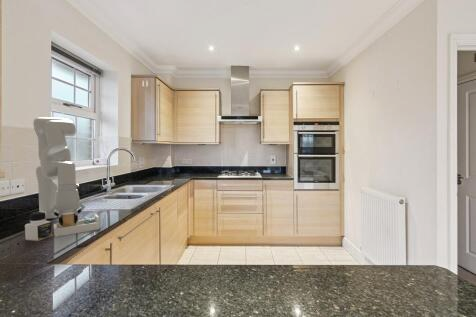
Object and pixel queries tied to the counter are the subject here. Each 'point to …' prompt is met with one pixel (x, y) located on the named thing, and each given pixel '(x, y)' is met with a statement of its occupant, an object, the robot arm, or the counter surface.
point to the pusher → (88, 220)
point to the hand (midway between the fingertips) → (68, 223)
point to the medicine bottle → (38, 227)
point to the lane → (77, 227)
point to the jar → (68, 218)
